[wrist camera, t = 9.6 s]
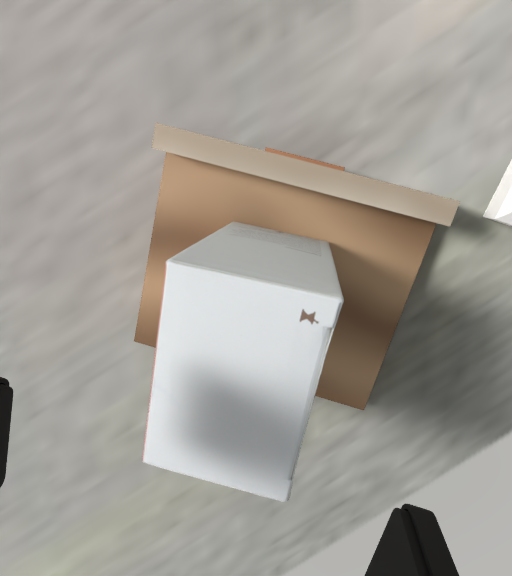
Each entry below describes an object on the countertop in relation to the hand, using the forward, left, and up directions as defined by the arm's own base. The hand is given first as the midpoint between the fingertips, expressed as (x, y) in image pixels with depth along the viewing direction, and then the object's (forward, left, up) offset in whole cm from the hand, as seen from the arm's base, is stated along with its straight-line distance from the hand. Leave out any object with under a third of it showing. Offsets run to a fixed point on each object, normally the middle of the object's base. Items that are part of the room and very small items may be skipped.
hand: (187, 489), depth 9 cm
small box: (0, 0, -15) cm, 14 cm away
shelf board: (+2, 0, -15) cm, 15 cm away
